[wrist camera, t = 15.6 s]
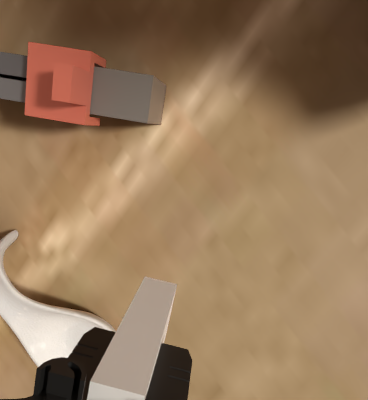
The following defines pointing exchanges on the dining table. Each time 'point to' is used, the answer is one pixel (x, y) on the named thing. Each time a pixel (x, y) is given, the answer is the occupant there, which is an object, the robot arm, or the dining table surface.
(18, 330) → the spoon rest
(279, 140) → the dining table surface
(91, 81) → the lock tab
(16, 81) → the arm
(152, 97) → the tongs base
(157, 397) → the robot arm
